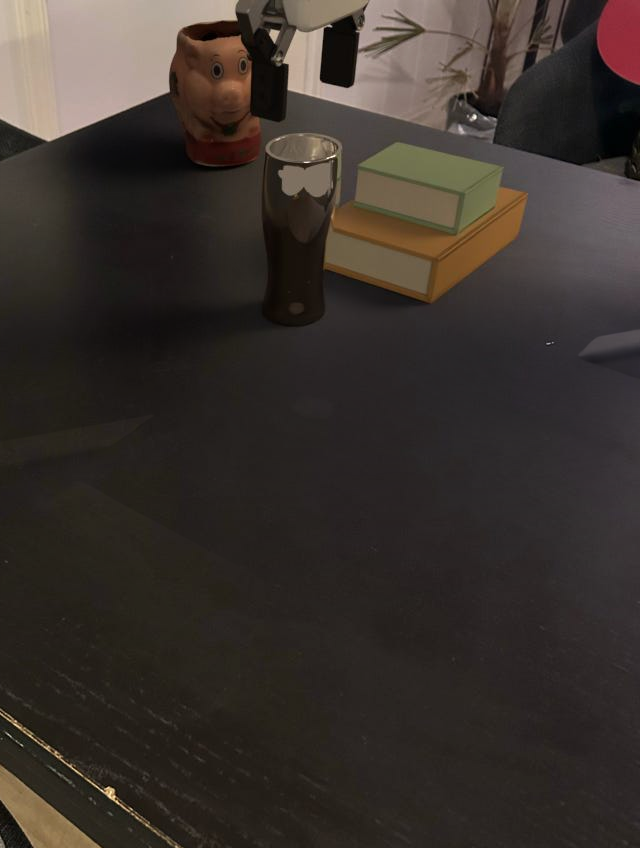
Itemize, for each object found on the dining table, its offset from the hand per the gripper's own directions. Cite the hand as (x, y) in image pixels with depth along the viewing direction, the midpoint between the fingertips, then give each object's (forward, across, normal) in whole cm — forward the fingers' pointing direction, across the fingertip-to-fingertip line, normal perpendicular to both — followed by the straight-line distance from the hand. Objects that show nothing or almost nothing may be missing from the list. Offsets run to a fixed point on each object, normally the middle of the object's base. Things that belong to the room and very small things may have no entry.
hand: (303, 100), depth 75 cm
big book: (+18, +18, -3) cm, 26 cm away
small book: (+14, +18, -3) cm, 23 cm away
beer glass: (+19, 0, 0) cm, 19 cm away
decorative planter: (+19, +28, +32) cm, 46 cm away
